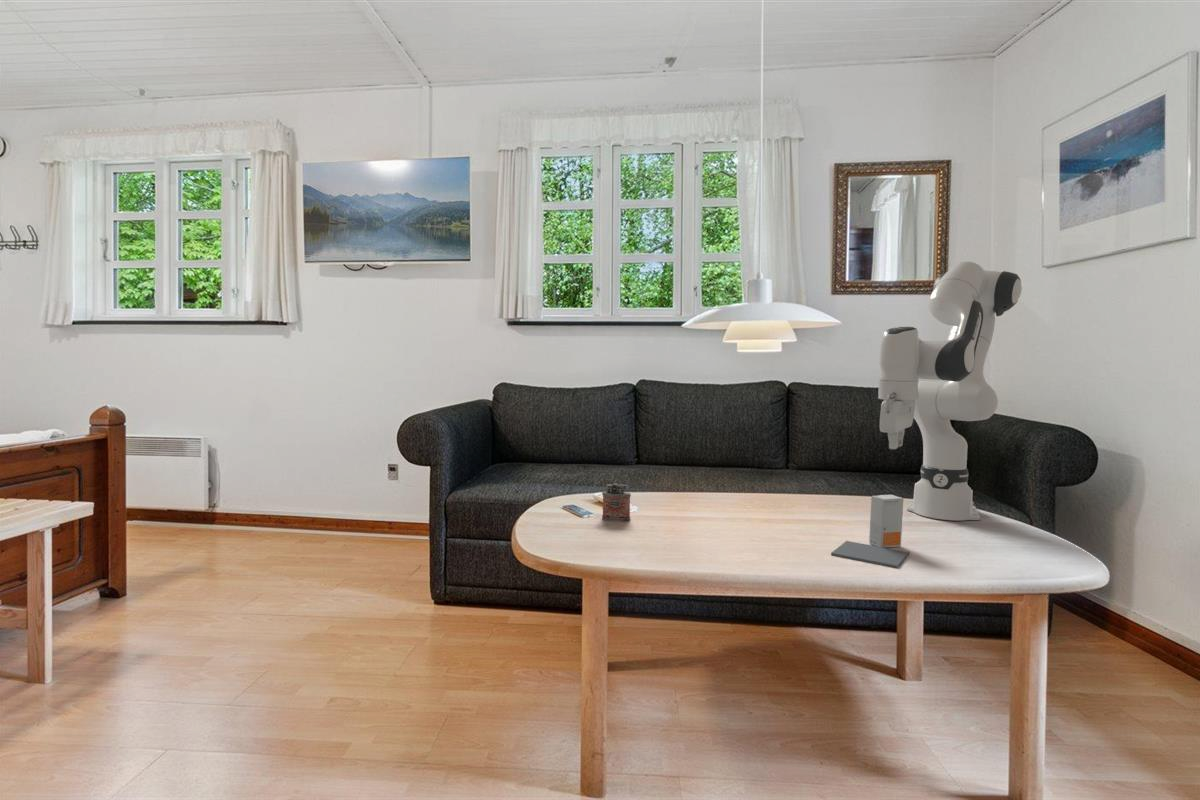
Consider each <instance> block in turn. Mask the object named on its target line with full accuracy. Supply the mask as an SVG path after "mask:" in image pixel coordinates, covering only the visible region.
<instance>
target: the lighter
mask: <svg viewBox="0 0 1200 800" xmlns="http://www.w3.org/2000/svg"><path fill="white" fill-rule="evenodd" d="M628 490H629V485H628V484H618V483H613V484H606V491H602V494H601V495H602V515H601V519H602V520H604V521H605V520H606V521H610V522H611V521H612V522H630V521H631V515H630V513H631V496H632V495H631V493H630V492H626V491H628Z"/></svg>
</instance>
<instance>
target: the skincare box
mask: <svg viewBox="0 0 1200 800" xmlns="http://www.w3.org/2000/svg"><path fill="white" fill-rule="evenodd" d="M903 510H904V497H901V496H897V495H894V494H879V495H871V500H870V518H869V519H870V520H869V521H870V522H869V538H868V539H869V543H868V544H869V545H872V546H878V547H884V548H896V547H897V548H900V547H901V546H902V531H903V514H904V511H903Z"/></svg>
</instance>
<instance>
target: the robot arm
mask: <svg viewBox="0 0 1200 800" xmlns="http://www.w3.org/2000/svg"><path fill="white" fill-rule="evenodd" d="M1021 295H1022V280H1021V278H1020V276H1019V275H1018V274H1017V273H1015V272H1010V271H1005V270H1004V271H995V270H985V269H984V268H983V267H982V266H981V265H980V264H978V263H976V262H972V261H962V262H961V261H960V262H959V263H956V264H954V265H953V266H951V267H950V269H948V271H946V272H943V273H941V274H939V276H937V277H936V279H935V281H934V282H933V286H932V292H931V293H930V296H929V298H928V308H929V311H930V313H931V314H932V316H933V317H934V318H935V319H936V320H937V321H938V322H940V323H942V324H944V325H947V326H951V327H950V330H949V333H948V335H947V337H946V340H922V339H920V338H919V331H918V328H917V327H914V326H899V327H892V328H888V329H886V330H885V331H884V332H883V334H882V338H881V344H880V352H879V366H880V374H879V378H878V390H877V391H878V396H877V399H879V400H883V401H882V403H881V405H880V415H879V431H880V432H881V433H886V434H887V438H888V439H887V440H888V449H889V450H896V449H898V448H900V447H902V446H903V443H904V442H903V441H904V435H905V429H908V428H911V427H912V426H913V422H914V420H915V422H916V423H917V426H918V428H919V430H920V433H921V437H922V445H923V446H922V449H923V451H922V454H923V455H922V464H921V467H920V477H921V478H920V480H918V481H917V482H915V483H914V490H913V500H912V501H913V502H912V504H910V505H907V506H906V511H909V512H911V513H912V512H913V513H915V514H916V515H919V516H921V517H922V516H923V517H925V518H926V517H927V518H929V519H936V520H941V521H942V520H944V521H956V522H957V521H958V522H960V521H980V520H981V515H980V514H979V511H978V509H977V508H976V506H975V502H974V501H973V493H974V492H973V489H972V488H971V487H970V485H968V481H969V469H968V468H967V464H968V462H967V461H968V448H969V446H968V442H967V440H966V438H964V436H963V435H961V434H959V432H956V430H955V429H954V427H953V426H952V424H951V420H952V421H962V422H963V421H964V422H975V421H976V422H977V421H984V420H985V421H986V420H988V419H990V418H991V417H993V415H994V414H995V412H996V411H997V408H998V402H999V401H998V395H997V393H996V391H995V390H994V389H993V388H992V386H990V385H989V383H987V381H986V379H985V376H984V367H985V362H986V359H987V355H988V352H989V349H990V346H991V343H992V340H993V336H994V333H995V323H996V317H1001V316H1002V315H1003V314H1004V313H1005V312H1007V311H1009V310H1011V309H1012V308H1013V307H1014V306H1015V305H1016V304H1017V303H1018V301H1019V298H1021ZM919 379H920V380H922V381H919ZM923 380H924V381H923ZM941 380H942V381H941Z"/></svg>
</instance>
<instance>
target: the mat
mask: <svg viewBox="0 0 1200 800" xmlns="http://www.w3.org/2000/svg"><path fill="white" fill-rule="evenodd" d="M830 555H831V556H834V555H835V557H839V556H840V558H844V557H845V559H849V558H850V559H851V560H854V559H855V561H859V562H864V561H865V563H869V562H870V564H875V565H880V564H881V566H885V565H886V567H890V566H891V568H896V569H898V568H899V567H900V565H901V564H903V563H904V561H905V560H906V558H907V557H908V556H909V555H910V551H907V550H906V551H904V550H900V549H899V550H898V549H893V548H890V547H886V548H884V547H878V546H875V545H872V544H867V543H860V542H854V541H849V540H845V542H843V543H842V544H840V545H839V546H838V547H837V548H835V549H834V550H833V551H832V552H831V553H830ZM904 559H905V560H904ZM898 566H899V567H898Z"/></svg>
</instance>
